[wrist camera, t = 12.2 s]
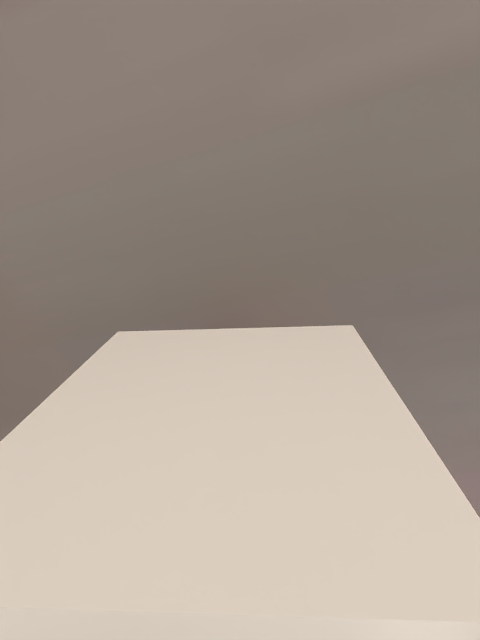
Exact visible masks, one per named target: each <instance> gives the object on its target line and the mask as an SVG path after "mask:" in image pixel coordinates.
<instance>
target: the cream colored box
mask: <svg viewBox="0 0 480 640" xmlns="http://www.w3.org/2000/svg"><path fill="white" fill-rule="evenodd" d="M0 640H480V518H479V517H478V515H477V514H476V512H475V511H474V509H473V508H472V506H471V504H470V503H469V501H468V500H467V498H466V497H465V495H464V494H463V492H462V491H461V489H460V488H459V486H458V485H457V483H456V482H455V480H454V479H453V477H452V476H451V474H450V473H449V471H448V470H447V468H446V467H445V465H444V463H443V462H442V460H441V459H440V457H439V456H438V454H437V453H436V451H435V450H434V448H433V447H432V445H431V444H430V442H429V441H428V439H427V438H426V436H425V435H424V433H423V432H422V430H421V429H420V427H419V426H418V424H417V423H416V421H415V419H414V418H413V416H412V415H411V413H410V412H409V410H408V409H407V407H406V406H405V404H404V403H403V401H402V400H401V398H400V397H399V395H398V394H397V392H396V391H395V389H394V388H393V386H392V385H391V383H390V382H389V380H388V379H387V377H386V375H385V374H384V372H383V371H382V369H381V368H380V366H379V365H378V363H377V362H376V360H375V359H374V357H373V356H372V354H371V353H370V351H369V350H368V348H367V347H366V345H365V344H364V342H363V341H362V339H361V338H360V336H359V335H358V333H357V331H356V330H355V328H354V327H353V325H347V326H310V327H274V328H237V329H200V330H164V331H127V332H117V333H116V334H115V335H114V336H113V337H112V338H111V339H110V340H109V341H108V342H106V343H105V344H104V345H103V346H102V347H101V348H100V349H99V350H98V351H97V352H96V353H95V354H94V355H93V356H92V357H90V358H89V359H88V360H87V361H86V362H85V363H84V364H83V365H82V366H81V367H80V368H79V369H78V370H77V371H75V372H74V373H73V374H72V375H71V376H70V377H69V378H68V379H67V380H66V381H65V382H64V383H63V384H62V385H61V386H59V387H58V388H57V389H56V390H55V391H54V392H53V393H52V394H51V395H50V396H49V397H48V398H47V399H46V400H45V401H43V402H42V403H41V404H40V405H39V406H38V407H37V408H36V409H35V410H34V411H33V412H32V413H31V414H30V415H28V416H27V417H26V418H25V419H24V420H23V421H22V422H21V423H20V424H19V425H18V426H17V427H16V428H15V429H14V430H12V431H11V432H10V433H9V434H8V435H7V436H6V437H5V438H4V439H3V440H2V441H1V442H0Z"/></svg>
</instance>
